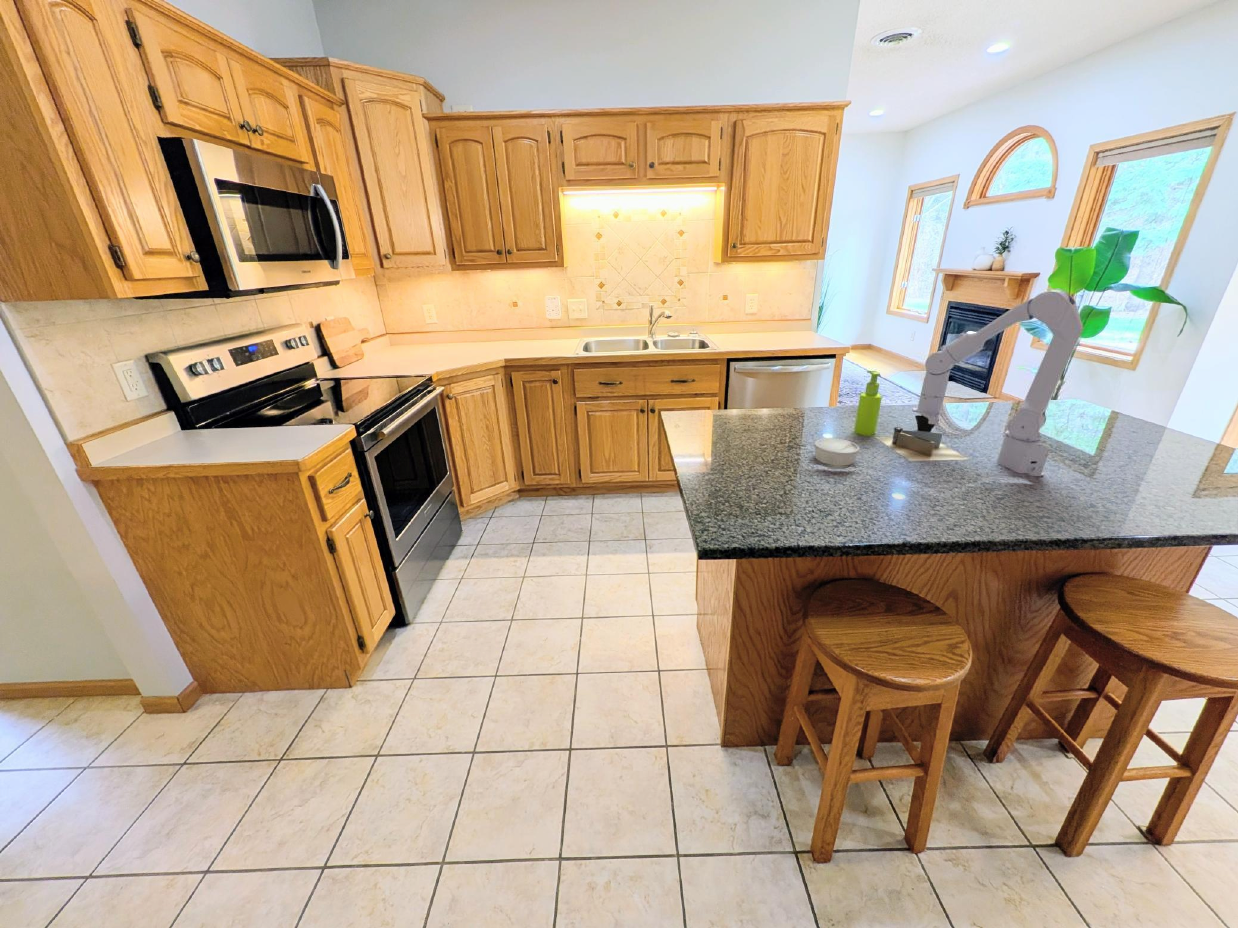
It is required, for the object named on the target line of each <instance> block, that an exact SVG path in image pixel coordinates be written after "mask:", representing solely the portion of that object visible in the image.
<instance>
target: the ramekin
mask: <svg viewBox="0 0 1238 928" xmlns="http://www.w3.org/2000/svg"><path fill="white" fill-rule="evenodd" d="M813 447H814V456H815V457H814V458H815V459H816V460H817V461H819V462H821V463H823V464H819V465H821V466H822V467H825V468H830V469H834V470H835V469H836V470H845V469H849V468H850V467H851V465H853V464H854V463H855V461H856V459H857V456H858V454H859V452H860V447H859V445H858V444H856V443H854V442H853V441H850V440H846V439H841V438H834V437H832V438H831V437H828V438H825V437H824V438H820V439H817V440H815V441H814V445H813Z"/></svg>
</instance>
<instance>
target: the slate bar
mask: <svg viewBox="0 0 1238 928" xmlns="http://www.w3.org/2000/svg"><path fill="white" fill-rule="evenodd" d="M901 432H902V433H905V434H908V435H912V436H915V437H918V438H921V439H925V440H928V441H931V442H935V444H934V446H935V447H939V446H940V443H942V438H943V432H938V431H936V432H935V431H931V432H928V431H917V429H916V430H914V429H903V430H902V431H901Z"/></svg>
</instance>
